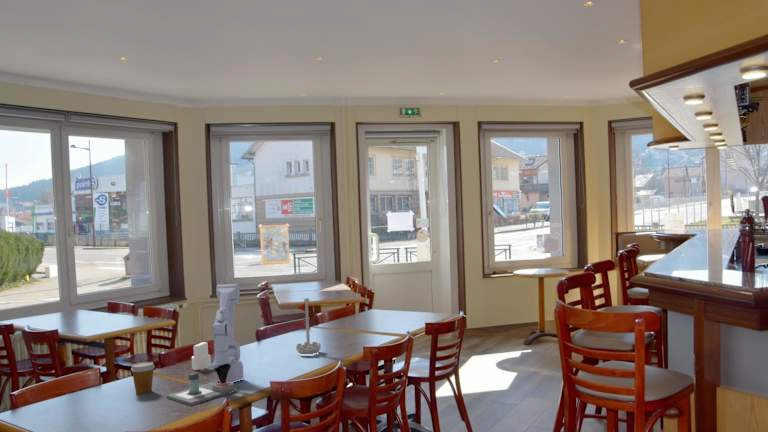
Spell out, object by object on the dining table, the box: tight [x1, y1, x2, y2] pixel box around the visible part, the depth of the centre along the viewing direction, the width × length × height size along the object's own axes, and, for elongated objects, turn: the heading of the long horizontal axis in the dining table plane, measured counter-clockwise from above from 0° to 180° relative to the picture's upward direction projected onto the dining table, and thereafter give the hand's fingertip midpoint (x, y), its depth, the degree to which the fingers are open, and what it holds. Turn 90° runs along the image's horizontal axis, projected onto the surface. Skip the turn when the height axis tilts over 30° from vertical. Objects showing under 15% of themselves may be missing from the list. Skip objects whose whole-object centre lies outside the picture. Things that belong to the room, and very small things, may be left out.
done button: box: [216, 382, 230, 387], centre depth 249 cm, size 4×4×3 cm
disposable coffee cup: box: [130, 361, 155, 395], centre depth 254 cm, size 10×10×12 cm
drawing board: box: [166, 381, 238, 407], centre depth 246 cm, size 22×18×3 cm
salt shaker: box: [187, 372, 200, 394], centre depth 245 cm, size 4×4×8 cm
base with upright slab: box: [191, 341, 212, 371], centre depth 290 cm, size 9×9×12 cm
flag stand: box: [295, 297, 322, 354], centre depth 311 cm, size 13×13×30 cm
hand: (222, 382), depth 249 cm, fingers closed
